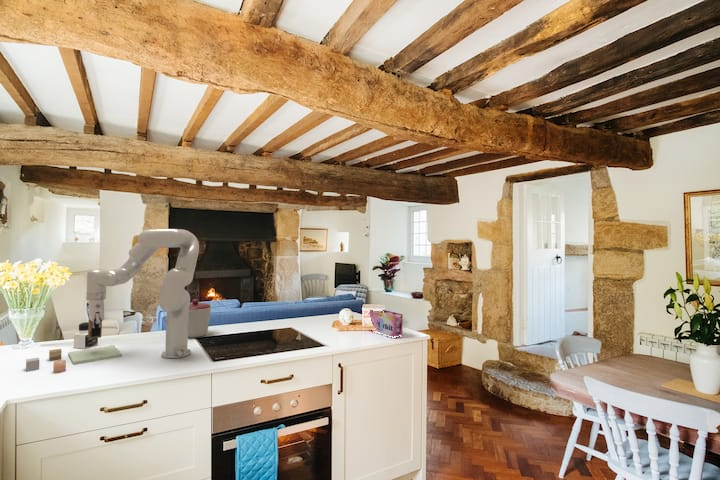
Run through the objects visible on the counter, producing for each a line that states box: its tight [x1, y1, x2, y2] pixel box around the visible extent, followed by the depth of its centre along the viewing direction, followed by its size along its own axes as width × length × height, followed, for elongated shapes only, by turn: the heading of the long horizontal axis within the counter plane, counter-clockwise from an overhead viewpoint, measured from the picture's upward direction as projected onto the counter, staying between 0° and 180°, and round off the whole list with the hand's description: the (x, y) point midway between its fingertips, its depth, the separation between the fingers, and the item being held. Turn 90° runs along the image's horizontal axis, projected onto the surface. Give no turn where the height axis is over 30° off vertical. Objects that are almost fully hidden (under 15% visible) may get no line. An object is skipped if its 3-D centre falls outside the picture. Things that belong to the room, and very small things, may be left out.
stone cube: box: [25, 357, 40, 372], centre depth 153 cm, size 4×4×4 cm
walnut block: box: [88, 319, 103, 339], centre depth 172 cm, size 4×4×8 cm
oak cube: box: [48, 348, 63, 362], centre depth 166 cm, size 4×4×4 cm
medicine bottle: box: [73, 321, 99, 350], centre depth 186 cm, size 7×7×12 cm
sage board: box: [67, 345, 123, 365], centre depth 172 cm, size 18×18×1 cm
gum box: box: [368, 309, 404, 337], centre depth 224 cm, size 24×8×14 cm, turn 38°
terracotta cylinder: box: [52, 359, 67, 374], centre depth 151 cm, size 4×4×4 cm
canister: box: [188, 298, 213, 339], centre depth 211 cm, size 18×18×21 cm
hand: (94, 334), depth 172 cm, fingers closed on walnut block, 4 cm apart
